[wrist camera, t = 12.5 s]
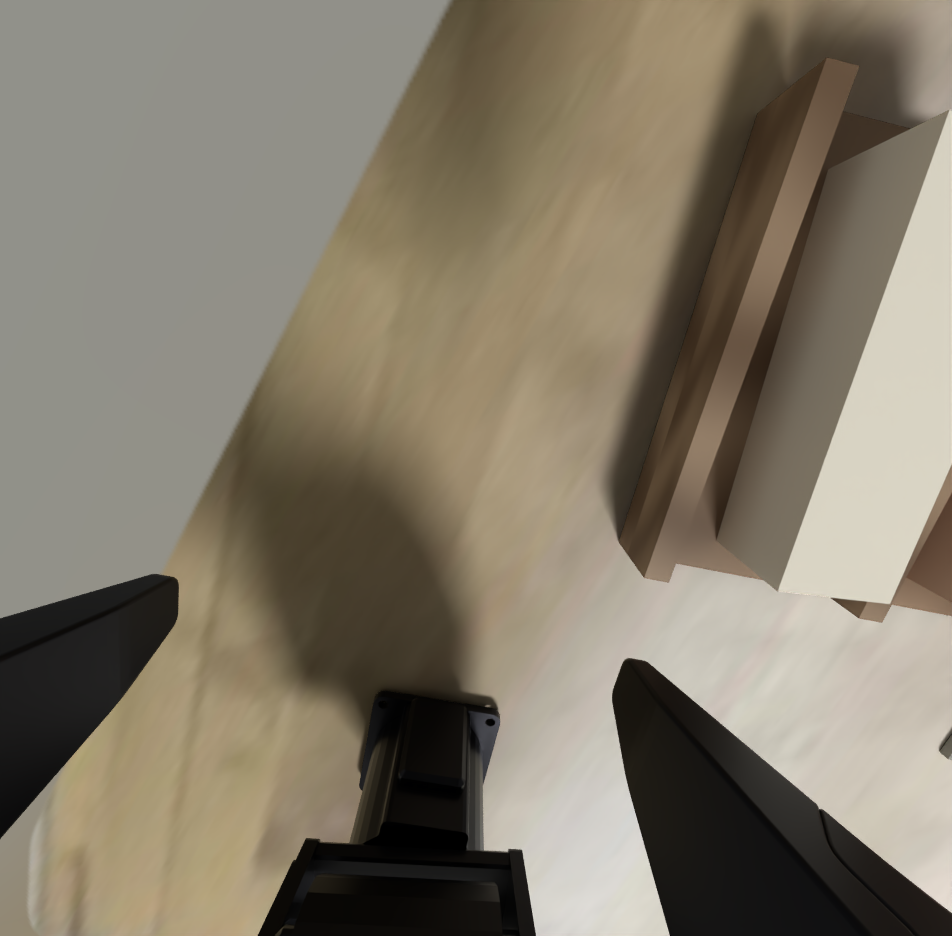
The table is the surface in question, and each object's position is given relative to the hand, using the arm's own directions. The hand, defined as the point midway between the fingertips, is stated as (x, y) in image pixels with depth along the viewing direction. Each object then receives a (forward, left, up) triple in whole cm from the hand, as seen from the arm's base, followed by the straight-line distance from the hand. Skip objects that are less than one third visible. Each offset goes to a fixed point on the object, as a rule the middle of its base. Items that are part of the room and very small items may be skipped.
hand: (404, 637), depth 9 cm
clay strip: (+7, -13, -10) cm, 18 cm away
